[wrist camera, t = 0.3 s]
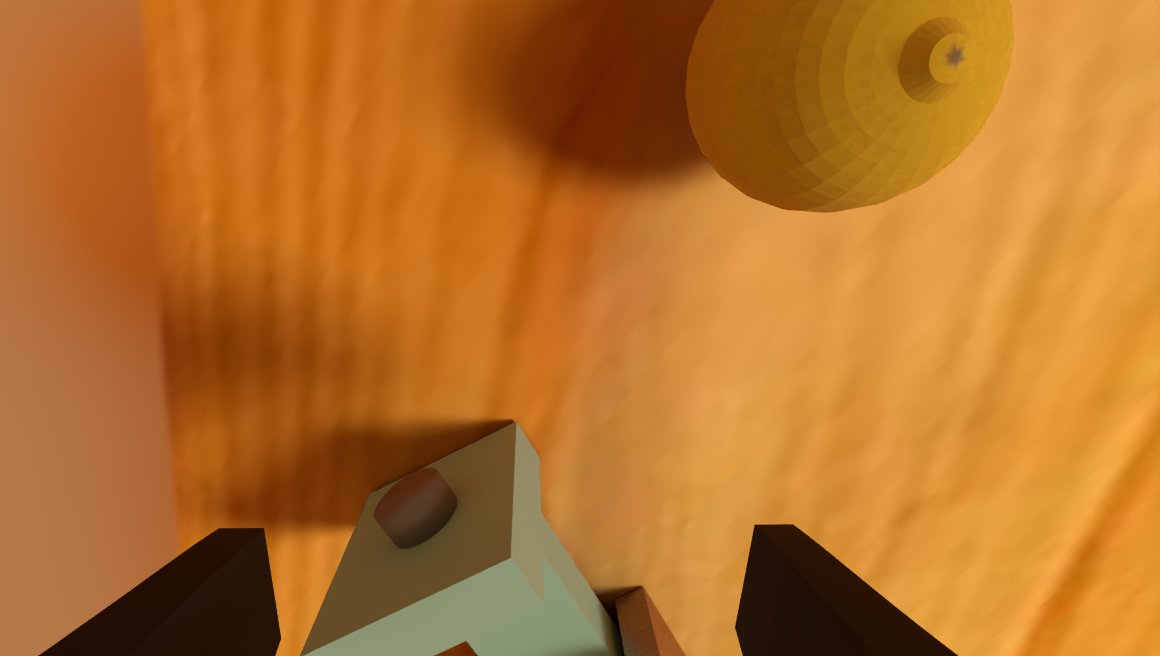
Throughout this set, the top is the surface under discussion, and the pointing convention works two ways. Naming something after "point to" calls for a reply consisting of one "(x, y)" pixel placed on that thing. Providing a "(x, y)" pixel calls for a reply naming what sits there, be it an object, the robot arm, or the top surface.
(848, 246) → the top surface
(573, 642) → the handle
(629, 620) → the block
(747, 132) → the lemon
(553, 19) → the top surface
